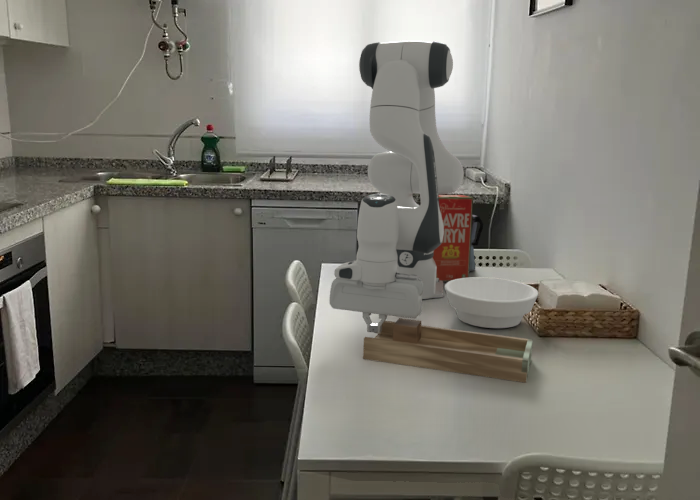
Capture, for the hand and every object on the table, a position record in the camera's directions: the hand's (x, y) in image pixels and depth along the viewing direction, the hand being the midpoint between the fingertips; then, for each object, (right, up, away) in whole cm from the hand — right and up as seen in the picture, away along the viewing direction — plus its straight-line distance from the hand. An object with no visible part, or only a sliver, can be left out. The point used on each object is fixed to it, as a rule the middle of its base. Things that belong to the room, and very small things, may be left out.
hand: (374, 332), depth 154 cm
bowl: (+29, 0, +20) cm, 35 cm away
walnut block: (+7, -2, -2) cm, 7 cm away
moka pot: (+31, +11, +71) cm, 78 cm away
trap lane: (+15, -5, -7) cm, 17 cm away
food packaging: (+23, +9, +57) cm, 62 cm away
